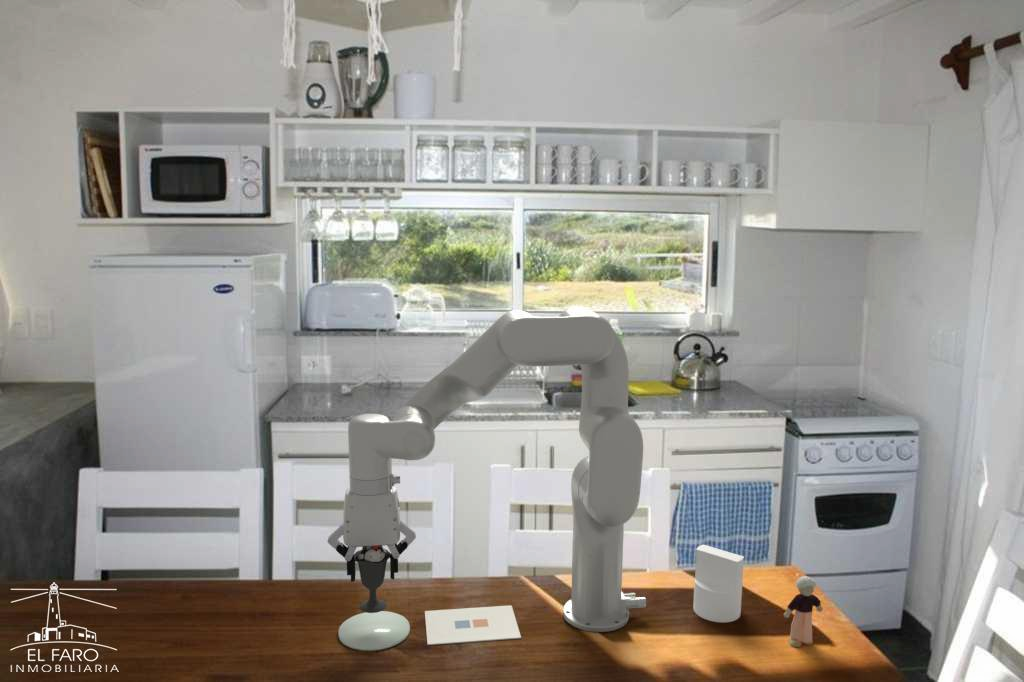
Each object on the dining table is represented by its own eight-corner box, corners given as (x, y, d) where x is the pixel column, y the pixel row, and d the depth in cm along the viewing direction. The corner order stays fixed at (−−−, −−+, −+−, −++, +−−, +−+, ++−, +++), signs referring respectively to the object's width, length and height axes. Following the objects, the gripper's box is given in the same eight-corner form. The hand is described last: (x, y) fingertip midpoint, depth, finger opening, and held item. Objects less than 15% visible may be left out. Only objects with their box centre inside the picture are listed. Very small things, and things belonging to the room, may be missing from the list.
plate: (409, 611, 158) (409, 608, 158) (410, 647, 145) (410, 644, 145) (340, 616, 156) (340, 613, 156) (336, 653, 143) (336, 650, 143)
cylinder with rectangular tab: (748, 609, 160) (751, 551, 158) (727, 627, 153) (731, 567, 151) (706, 595, 165) (709, 539, 163) (684, 611, 159) (687, 553, 157)
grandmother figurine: (795, 652, 145) (799, 585, 142) (778, 641, 148) (783, 576, 146) (825, 641, 148) (831, 576, 146) (809, 631, 151) (814, 567, 149)
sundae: (384, 617, 146) (383, 538, 143) (349, 613, 147) (347, 534, 145) (396, 600, 152) (396, 524, 150) (363, 596, 154) (361, 520, 151)
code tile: (511, 606, 160) (511, 605, 160) (521, 638, 149) (521, 637, 148) (424, 612, 158) (424, 610, 158) (427, 645, 146) (427, 644, 146)
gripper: (419, 474, 151) (419, 565, 154) (323, 478, 148) (326, 570, 151) (420, 488, 143) (421, 584, 146) (319, 493, 141) (322, 589, 144)
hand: (372, 576), depth 149 cm, fingers closed on sundae, 6 cm apart
